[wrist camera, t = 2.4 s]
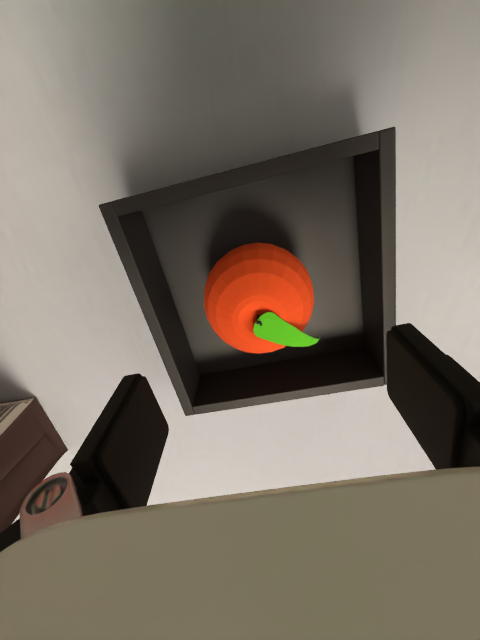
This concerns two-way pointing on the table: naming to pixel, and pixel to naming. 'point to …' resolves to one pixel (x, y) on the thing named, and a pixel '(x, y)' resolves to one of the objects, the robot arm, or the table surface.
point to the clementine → (260, 299)
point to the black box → (283, 231)
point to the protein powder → (24, 454)
